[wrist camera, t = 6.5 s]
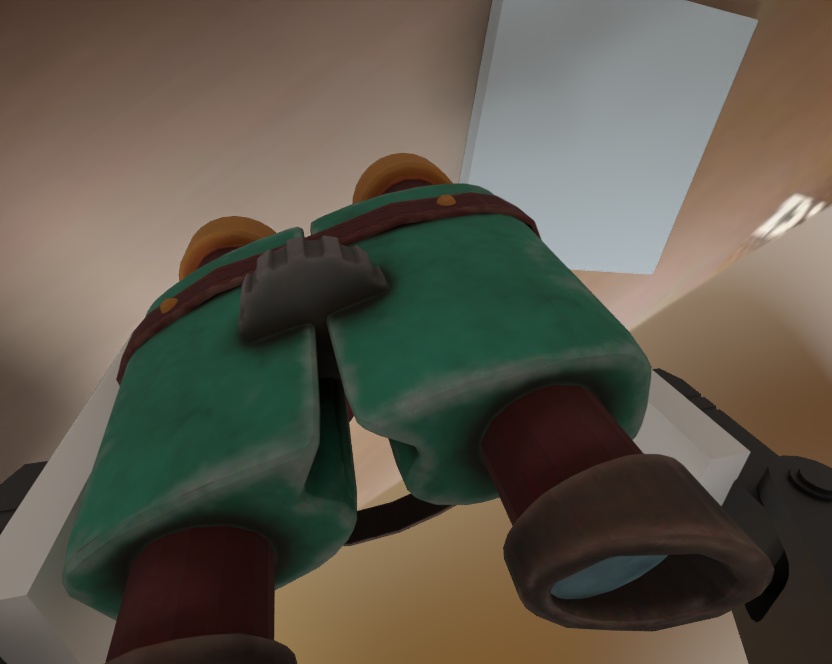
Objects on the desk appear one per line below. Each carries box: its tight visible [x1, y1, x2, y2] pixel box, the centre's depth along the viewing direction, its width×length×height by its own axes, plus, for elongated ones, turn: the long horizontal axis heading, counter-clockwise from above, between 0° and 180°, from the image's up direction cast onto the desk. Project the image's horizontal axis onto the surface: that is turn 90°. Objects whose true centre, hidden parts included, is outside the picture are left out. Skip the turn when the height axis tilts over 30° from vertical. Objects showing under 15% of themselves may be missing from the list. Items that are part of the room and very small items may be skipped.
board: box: [459, 0, 758, 275], centre depth 27 cm, size 15×15×2 cm
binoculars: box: [62, 153, 774, 664], centre depth 9 cm, size 9×11×10 cm
